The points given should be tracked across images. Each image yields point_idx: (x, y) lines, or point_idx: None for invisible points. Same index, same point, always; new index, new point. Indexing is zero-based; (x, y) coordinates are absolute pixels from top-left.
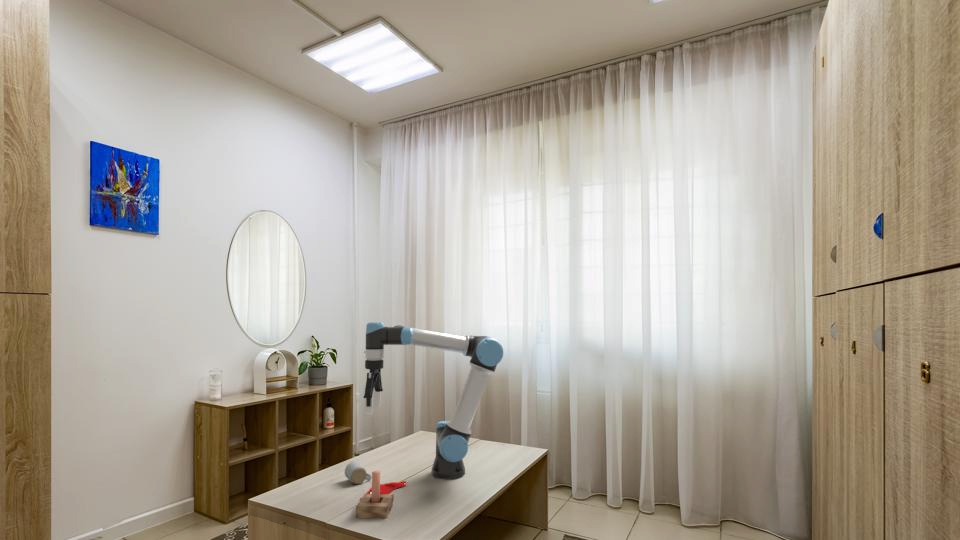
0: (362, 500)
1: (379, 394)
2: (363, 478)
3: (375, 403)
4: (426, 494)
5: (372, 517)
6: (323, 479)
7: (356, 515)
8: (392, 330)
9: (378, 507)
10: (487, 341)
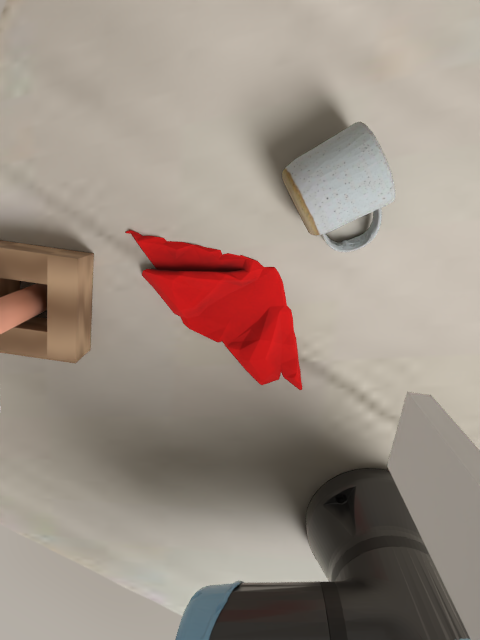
0: (15, 258)
1: (473, 617)
2: (304, 222)
3: (420, 440)
4: (179, 447)
5: None
6: (384, 15)
7: None
8: None
9: None
10: None
